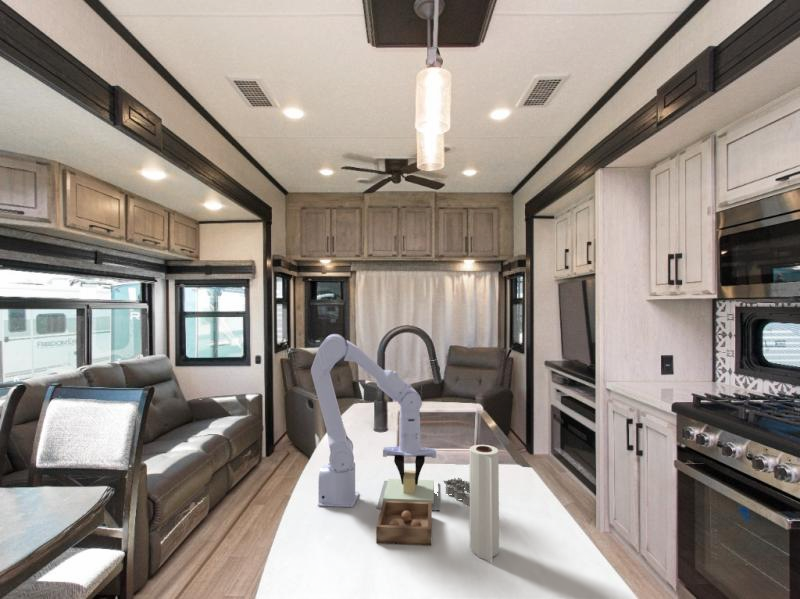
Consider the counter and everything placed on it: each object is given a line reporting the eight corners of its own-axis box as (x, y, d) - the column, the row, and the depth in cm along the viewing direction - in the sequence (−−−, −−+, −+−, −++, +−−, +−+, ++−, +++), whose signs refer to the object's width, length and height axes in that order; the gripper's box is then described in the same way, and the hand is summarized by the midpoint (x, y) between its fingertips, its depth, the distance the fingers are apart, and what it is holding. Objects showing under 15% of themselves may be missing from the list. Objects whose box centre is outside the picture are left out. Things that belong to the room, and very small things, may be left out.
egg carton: (488, 501, 108) (488, 486, 108) (467, 509, 104) (467, 493, 104) (461, 486, 117) (461, 472, 117) (441, 493, 113) (441, 478, 113)
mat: (376, 508, 104) (376, 507, 104) (384, 482, 120) (384, 480, 120) (439, 511, 103) (439, 509, 103) (438, 483, 119) (438, 482, 119)
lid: (383, 501, 105) (383, 483, 105) (388, 481, 118) (388, 465, 118) (433, 503, 104) (433, 484, 104) (433, 483, 117) (433, 466, 117)
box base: (376, 543, 89) (376, 526, 89) (383, 515, 101) (383, 500, 101) (431, 545, 88) (431, 529, 88) (431, 517, 100) (431, 502, 100)
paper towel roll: (475, 538, 91) (475, 441, 91) (502, 546, 88) (501, 446, 88) (463, 555, 84) (463, 451, 85) (492, 565, 81) (491, 457, 82)
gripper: (381, 437, 108) (381, 488, 108) (436, 438, 107) (436, 490, 107) (384, 429, 115) (384, 477, 115) (436, 430, 114) (436, 479, 114)
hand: (409, 483), depth 111 cm, fingers closed on lid, 3 cm apart
